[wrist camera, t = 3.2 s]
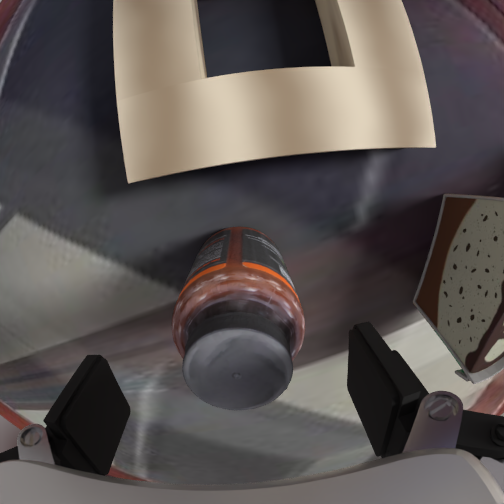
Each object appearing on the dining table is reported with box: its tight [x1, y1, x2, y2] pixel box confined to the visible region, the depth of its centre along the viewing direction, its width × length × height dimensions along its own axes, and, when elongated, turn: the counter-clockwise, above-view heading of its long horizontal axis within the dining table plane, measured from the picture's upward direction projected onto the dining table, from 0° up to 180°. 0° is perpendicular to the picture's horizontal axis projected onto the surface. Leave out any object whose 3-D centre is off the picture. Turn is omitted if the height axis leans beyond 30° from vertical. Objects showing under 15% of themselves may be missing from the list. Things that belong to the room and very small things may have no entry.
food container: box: [412, 194, 504, 384], centre depth 16 cm, size 12×6×10 cm, turn 170°
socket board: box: [113, 0, 436, 183], centre depth 14 cm, size 18×18×4 cm
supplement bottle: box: [172, 227, 305, 410], centre depth 15 cm, size 6×6×11 cm
